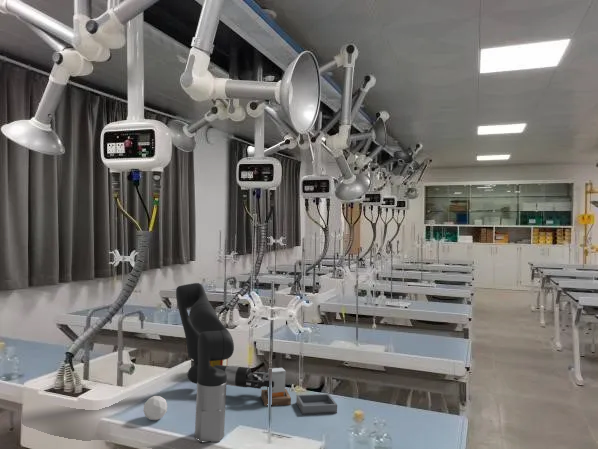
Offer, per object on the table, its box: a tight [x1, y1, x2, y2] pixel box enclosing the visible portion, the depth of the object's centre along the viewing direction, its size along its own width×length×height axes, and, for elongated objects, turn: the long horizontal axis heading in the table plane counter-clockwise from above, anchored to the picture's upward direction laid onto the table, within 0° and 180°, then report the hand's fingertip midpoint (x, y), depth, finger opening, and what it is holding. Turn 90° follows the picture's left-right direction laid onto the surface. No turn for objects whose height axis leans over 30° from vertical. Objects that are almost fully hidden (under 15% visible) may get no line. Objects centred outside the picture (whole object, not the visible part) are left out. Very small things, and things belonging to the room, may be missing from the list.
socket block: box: [260, 388, 292, 407], centre depth 175 cm, size 10×10×2 cm
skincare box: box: [266, 367, 287, 397], centre depth 175 cm, size 6×4×12 cm
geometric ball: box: [142, 395, 168, 421], centre depth 153 cm, size 8×8×8 cm
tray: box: [295, 393, 338, 416], centre depth 169 cm, size 11×13×3 cm
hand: (276, 380), depth 175 cm, fingers open, 8 cm apart
